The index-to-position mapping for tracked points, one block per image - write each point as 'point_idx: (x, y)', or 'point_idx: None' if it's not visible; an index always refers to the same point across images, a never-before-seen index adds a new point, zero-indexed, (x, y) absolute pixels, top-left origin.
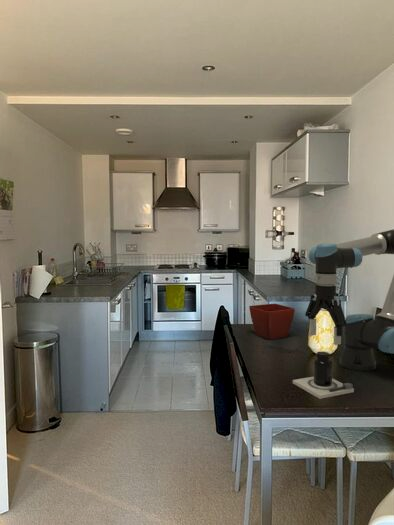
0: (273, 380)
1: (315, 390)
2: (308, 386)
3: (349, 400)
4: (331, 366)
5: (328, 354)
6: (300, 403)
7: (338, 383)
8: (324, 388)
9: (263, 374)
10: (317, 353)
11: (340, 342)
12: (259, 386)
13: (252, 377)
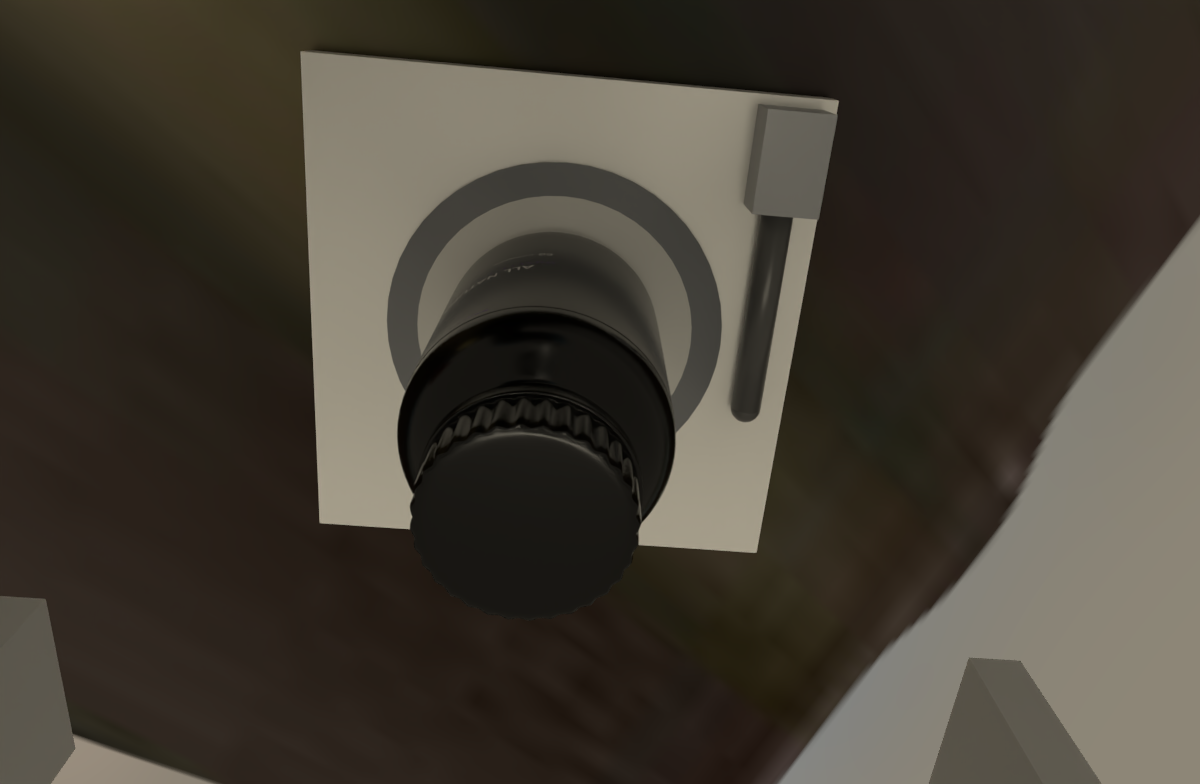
0: (197, 614)
1: None
2: None
3: (933, 323)
4: (666, 386)
5: (629, 499)
6: (725, 714)
7: (623, 136)
8: None
9: None
10: (486, 608)
11: (1038, 704)
12: (287, 780)
13: None
